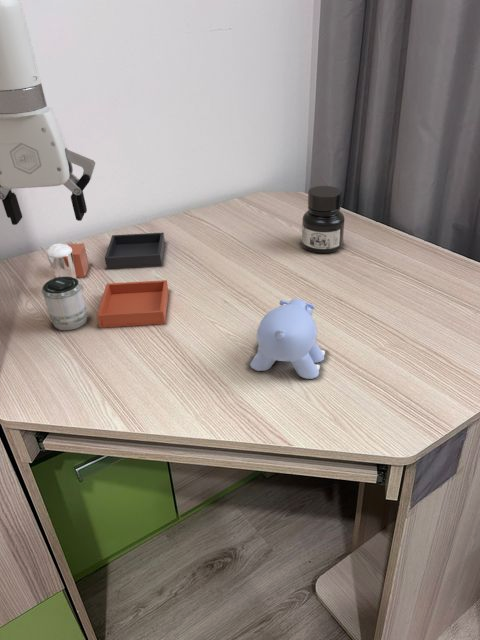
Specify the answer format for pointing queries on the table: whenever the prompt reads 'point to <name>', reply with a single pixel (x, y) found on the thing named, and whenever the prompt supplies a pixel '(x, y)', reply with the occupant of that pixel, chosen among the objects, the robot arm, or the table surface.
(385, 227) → the table surface
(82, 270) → the terracotta block
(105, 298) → the terracotta tray
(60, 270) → the milkshake
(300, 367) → the hippopotamus toy
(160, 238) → the charcoal tray
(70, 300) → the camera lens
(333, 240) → the ink bottle
